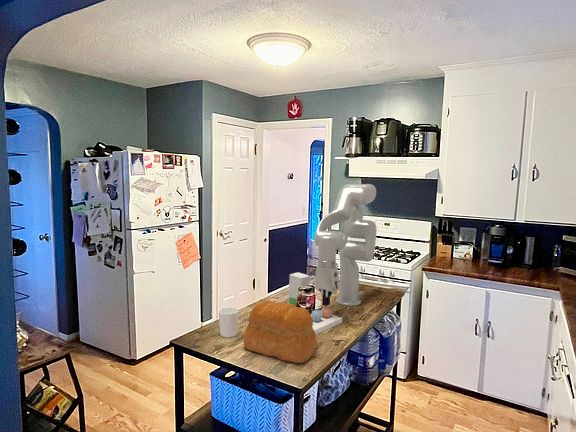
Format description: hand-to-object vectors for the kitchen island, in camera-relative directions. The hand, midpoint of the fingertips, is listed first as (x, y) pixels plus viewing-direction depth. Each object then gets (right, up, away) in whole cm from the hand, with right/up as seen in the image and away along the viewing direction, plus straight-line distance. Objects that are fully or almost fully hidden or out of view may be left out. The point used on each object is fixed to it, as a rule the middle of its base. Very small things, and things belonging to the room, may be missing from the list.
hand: (326, 304), depth 168 cm
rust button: (0, -5, +1) cm, 6 cm away
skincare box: (-11, -6, +24) cm, 27 cm away
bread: (-19, -12, -23) cm, 32 cm away
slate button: (-4, -6, -4) cm, 8 cm away
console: (-4, -9, -4) cm, 11 cm away
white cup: (-40, -10, -10) cm, 43 cm away
